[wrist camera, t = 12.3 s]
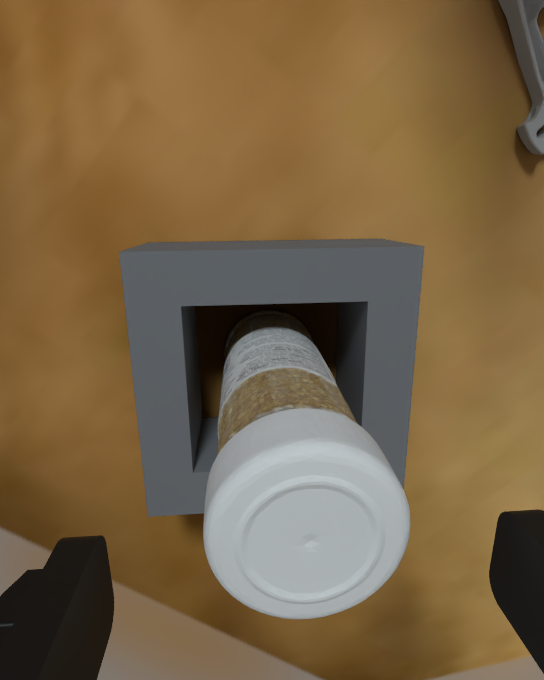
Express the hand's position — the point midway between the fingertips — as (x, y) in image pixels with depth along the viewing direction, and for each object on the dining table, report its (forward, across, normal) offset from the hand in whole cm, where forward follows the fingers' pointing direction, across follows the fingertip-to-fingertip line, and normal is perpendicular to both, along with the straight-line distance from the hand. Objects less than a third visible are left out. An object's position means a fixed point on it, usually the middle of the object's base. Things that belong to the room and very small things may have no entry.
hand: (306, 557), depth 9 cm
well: (+14, 0, 0) cm, 14 cm away
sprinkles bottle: (+14, 0, 0) cm, 14 cm away
